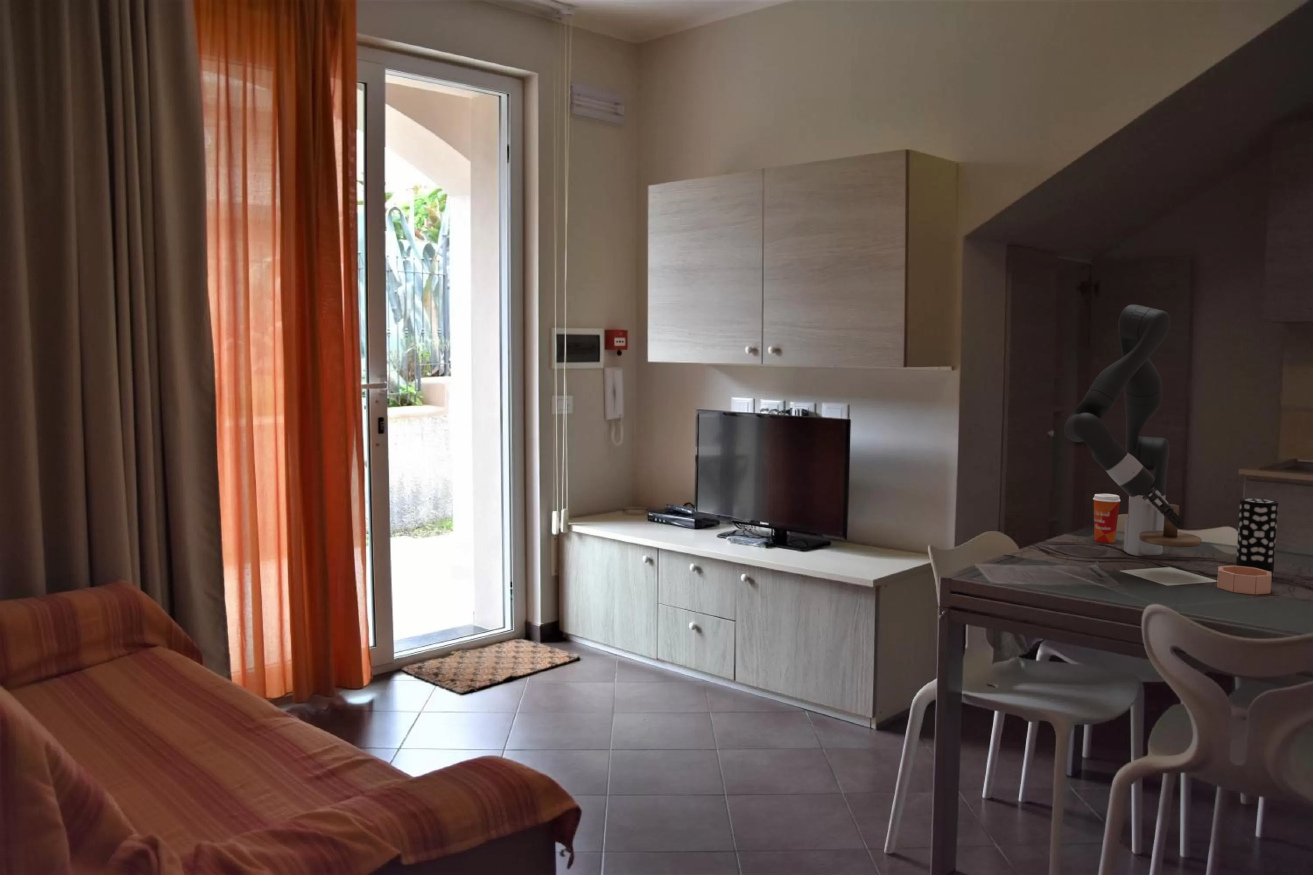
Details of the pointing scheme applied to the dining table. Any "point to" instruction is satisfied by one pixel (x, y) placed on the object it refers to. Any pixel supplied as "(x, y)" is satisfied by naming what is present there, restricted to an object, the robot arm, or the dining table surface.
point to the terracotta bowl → (1244, 580)
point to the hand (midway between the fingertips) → (1179, 523)
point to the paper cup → (1105, 517)
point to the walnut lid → (1170, 534)
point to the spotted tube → (1257, 533)
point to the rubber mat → (1169, 576)
